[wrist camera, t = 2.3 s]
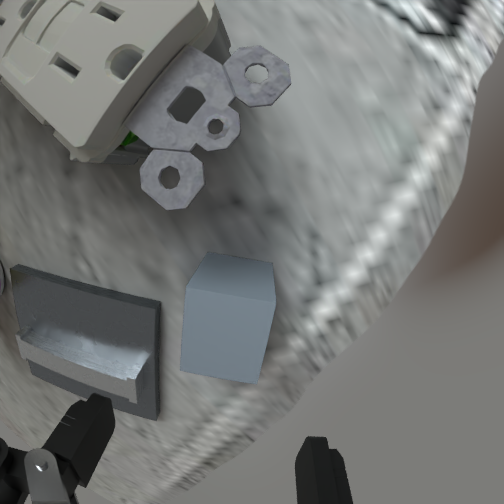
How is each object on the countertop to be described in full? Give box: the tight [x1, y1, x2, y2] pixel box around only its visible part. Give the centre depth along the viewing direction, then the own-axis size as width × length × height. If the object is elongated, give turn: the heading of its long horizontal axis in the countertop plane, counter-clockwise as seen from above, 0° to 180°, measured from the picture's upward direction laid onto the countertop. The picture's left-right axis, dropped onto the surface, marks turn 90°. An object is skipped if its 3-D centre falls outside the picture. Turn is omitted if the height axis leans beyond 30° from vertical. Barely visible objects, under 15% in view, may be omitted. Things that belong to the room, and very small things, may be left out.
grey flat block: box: [10, 264, 161, 421], centre depth 24 cm, size 14×17×4 cm
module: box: [180, 252, 276, 384], centre depth 20 cm, size 6×5×7 cm
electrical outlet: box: [0, 0, 291, 210], centre depth 14 cm, size 12×28×10 cm, turn 50°
